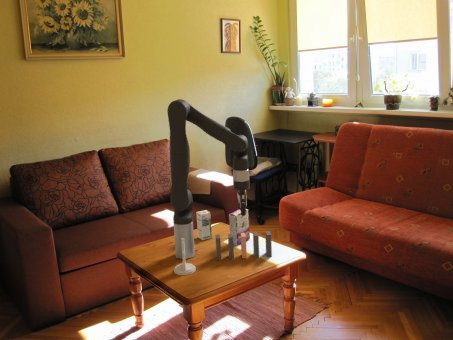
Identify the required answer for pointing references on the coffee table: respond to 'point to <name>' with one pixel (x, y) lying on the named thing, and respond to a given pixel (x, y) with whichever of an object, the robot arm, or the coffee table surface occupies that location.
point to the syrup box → (204, 224)
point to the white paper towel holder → (184, 264)
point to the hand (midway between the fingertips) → (242, 212)
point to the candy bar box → (239, 226)
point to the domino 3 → (243, 245)
